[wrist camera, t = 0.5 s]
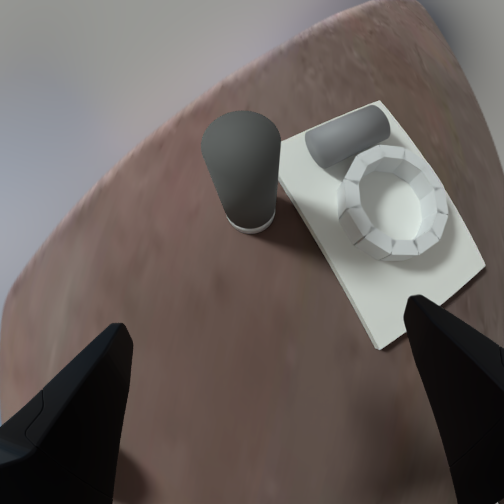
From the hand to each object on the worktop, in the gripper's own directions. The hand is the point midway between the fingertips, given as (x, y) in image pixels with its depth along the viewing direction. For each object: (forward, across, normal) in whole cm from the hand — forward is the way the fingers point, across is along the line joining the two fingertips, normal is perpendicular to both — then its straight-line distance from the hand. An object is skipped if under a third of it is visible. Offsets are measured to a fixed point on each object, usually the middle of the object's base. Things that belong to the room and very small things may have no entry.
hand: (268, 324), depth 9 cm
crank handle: (+15, 0, +3) cm, 15 cm away
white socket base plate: (+14, -10, +4) cm, 18 cm away
